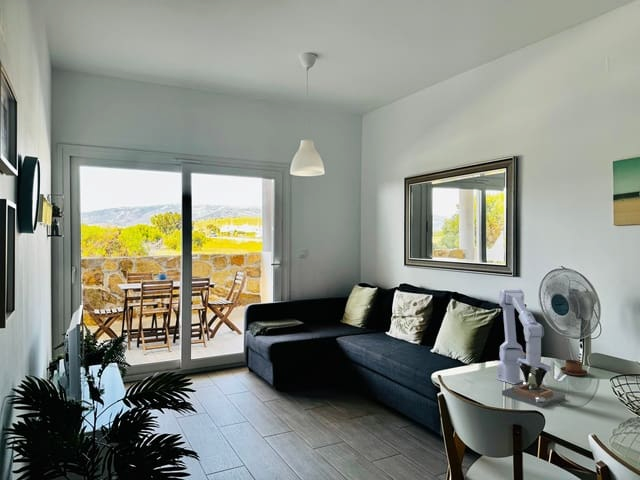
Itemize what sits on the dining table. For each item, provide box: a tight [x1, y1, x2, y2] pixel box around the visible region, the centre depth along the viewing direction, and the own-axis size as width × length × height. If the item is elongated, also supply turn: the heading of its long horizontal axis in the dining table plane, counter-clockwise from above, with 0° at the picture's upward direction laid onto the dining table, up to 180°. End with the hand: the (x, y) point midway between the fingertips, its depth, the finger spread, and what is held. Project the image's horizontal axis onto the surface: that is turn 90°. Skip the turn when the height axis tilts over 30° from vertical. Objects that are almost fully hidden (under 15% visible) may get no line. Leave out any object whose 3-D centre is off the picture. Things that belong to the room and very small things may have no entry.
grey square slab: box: [501, 380, 566, 409], centre depth 190 cm, size 18×18×4 cm
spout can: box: [528, 371, 541, 390], centre depth 191 cm, size 5×5×8 cm
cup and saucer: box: [560, 359, 588, 377], centre depth 224 cm, size 12×12×6 cm
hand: (533, 383), depth 190 cm, fingers closed on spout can, 5 cm apart
